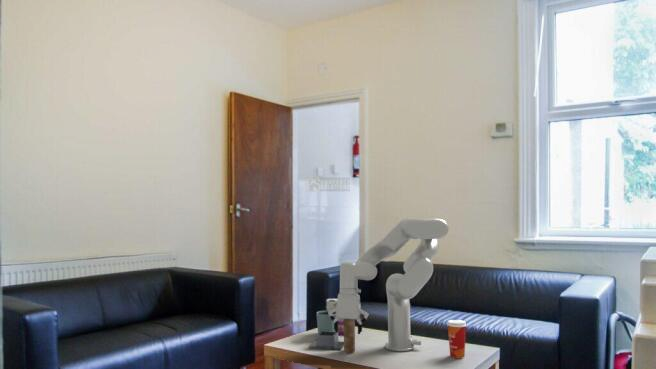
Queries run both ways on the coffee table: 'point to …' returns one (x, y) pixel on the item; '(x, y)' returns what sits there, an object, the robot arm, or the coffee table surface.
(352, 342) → the walnut rail
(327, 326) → the green tapered container
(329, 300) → the candy bar box
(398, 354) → the coffee table surface
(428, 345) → the coffee table surface
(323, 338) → the cup bracket
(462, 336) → the paper cup
